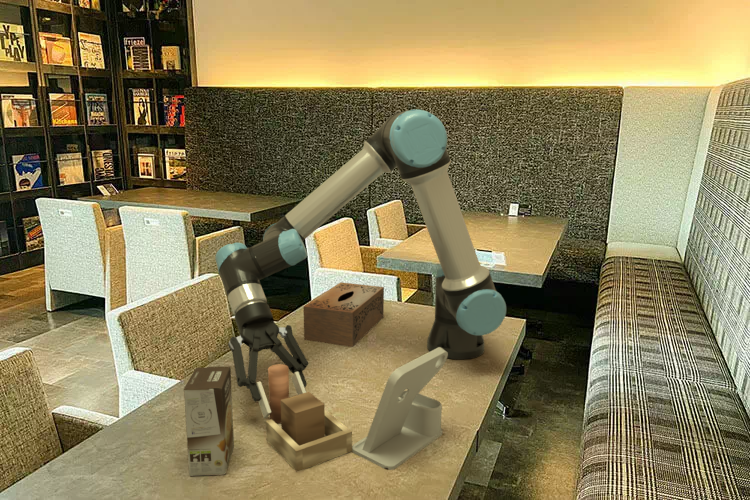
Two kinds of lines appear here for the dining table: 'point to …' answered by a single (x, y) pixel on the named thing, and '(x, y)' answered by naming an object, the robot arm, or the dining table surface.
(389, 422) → the phone holder
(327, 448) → the wooden u-shaped frame
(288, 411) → the block
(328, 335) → the tissue box cover
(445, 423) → the dining table surface
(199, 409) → the coffee box
